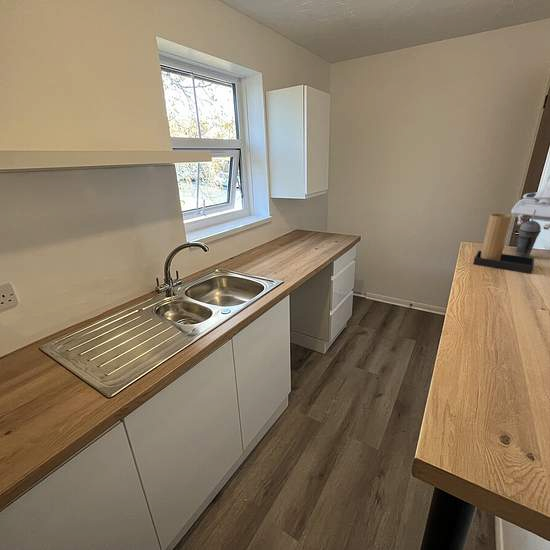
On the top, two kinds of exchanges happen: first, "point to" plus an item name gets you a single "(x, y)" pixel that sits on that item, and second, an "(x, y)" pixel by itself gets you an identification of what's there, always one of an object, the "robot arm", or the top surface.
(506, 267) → the tray
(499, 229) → the wooden cylinder
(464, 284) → the top surface
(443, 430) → the top surface
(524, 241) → the beverage cup
